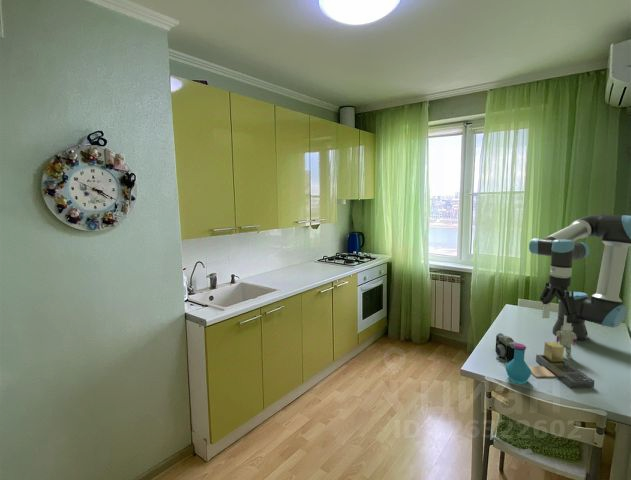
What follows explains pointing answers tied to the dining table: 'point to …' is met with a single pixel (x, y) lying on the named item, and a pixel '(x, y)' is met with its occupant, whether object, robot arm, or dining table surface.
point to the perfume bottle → (518, 366)
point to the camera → (505, 346)
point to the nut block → (553, 352)
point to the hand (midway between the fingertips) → (555, 323)
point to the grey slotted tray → (567, 373)
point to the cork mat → (541, 372)
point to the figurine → (566, 340)
